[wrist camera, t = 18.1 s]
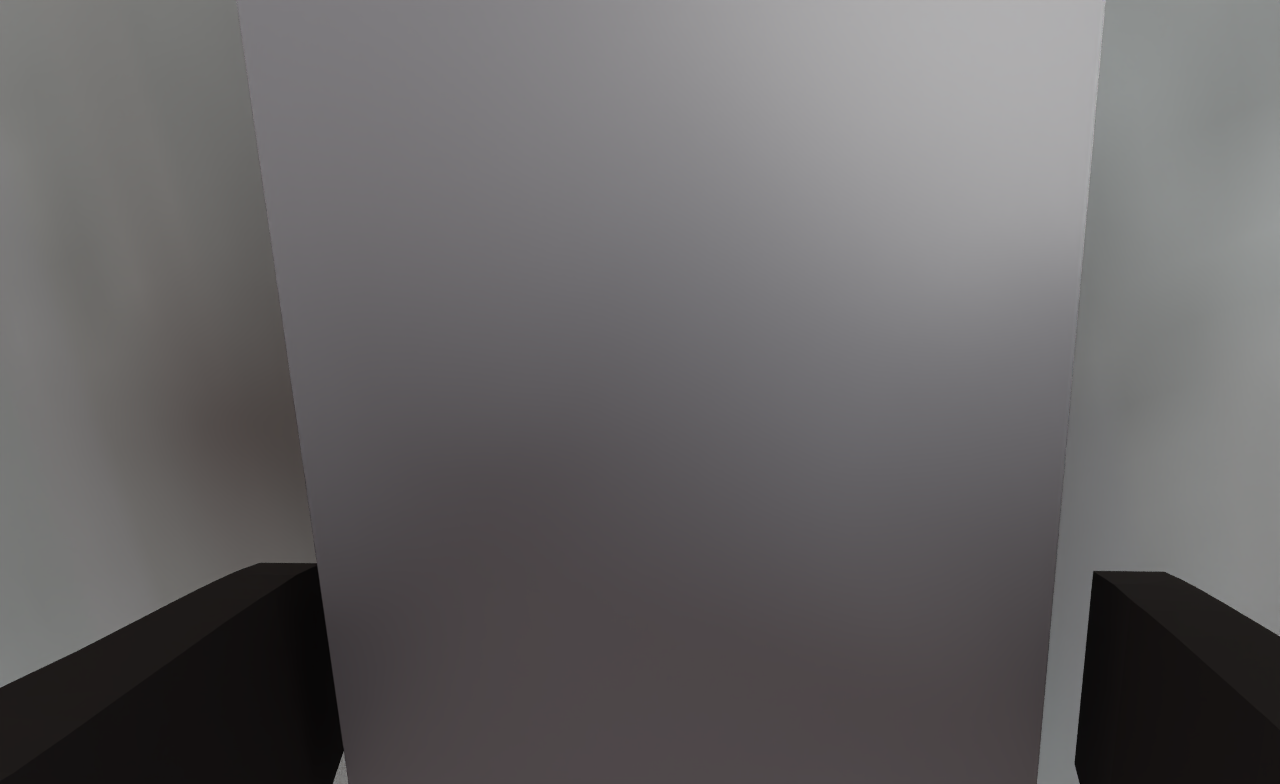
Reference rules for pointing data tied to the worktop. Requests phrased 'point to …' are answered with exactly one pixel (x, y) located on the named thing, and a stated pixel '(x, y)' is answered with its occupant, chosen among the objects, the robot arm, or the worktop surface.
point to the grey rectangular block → (681, 376)
